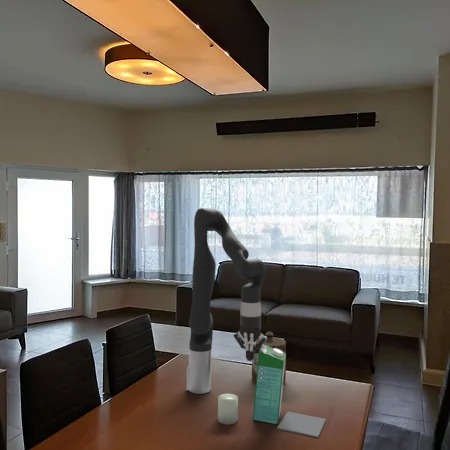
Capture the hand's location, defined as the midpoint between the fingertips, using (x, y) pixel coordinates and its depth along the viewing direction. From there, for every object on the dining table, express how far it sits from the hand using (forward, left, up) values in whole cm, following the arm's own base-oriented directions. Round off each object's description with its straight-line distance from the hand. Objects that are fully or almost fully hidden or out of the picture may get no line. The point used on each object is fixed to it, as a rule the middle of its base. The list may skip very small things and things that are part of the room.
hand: (250, 360), depth 166 cm
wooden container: (-3, +34, -20) cm, 39 cm away
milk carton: (+7, 0, -20) cm, 21 cm away
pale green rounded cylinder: (-5, -8, -20) cm, 22 cm away
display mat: (+20, 0, -20) cm, 28 cm away
